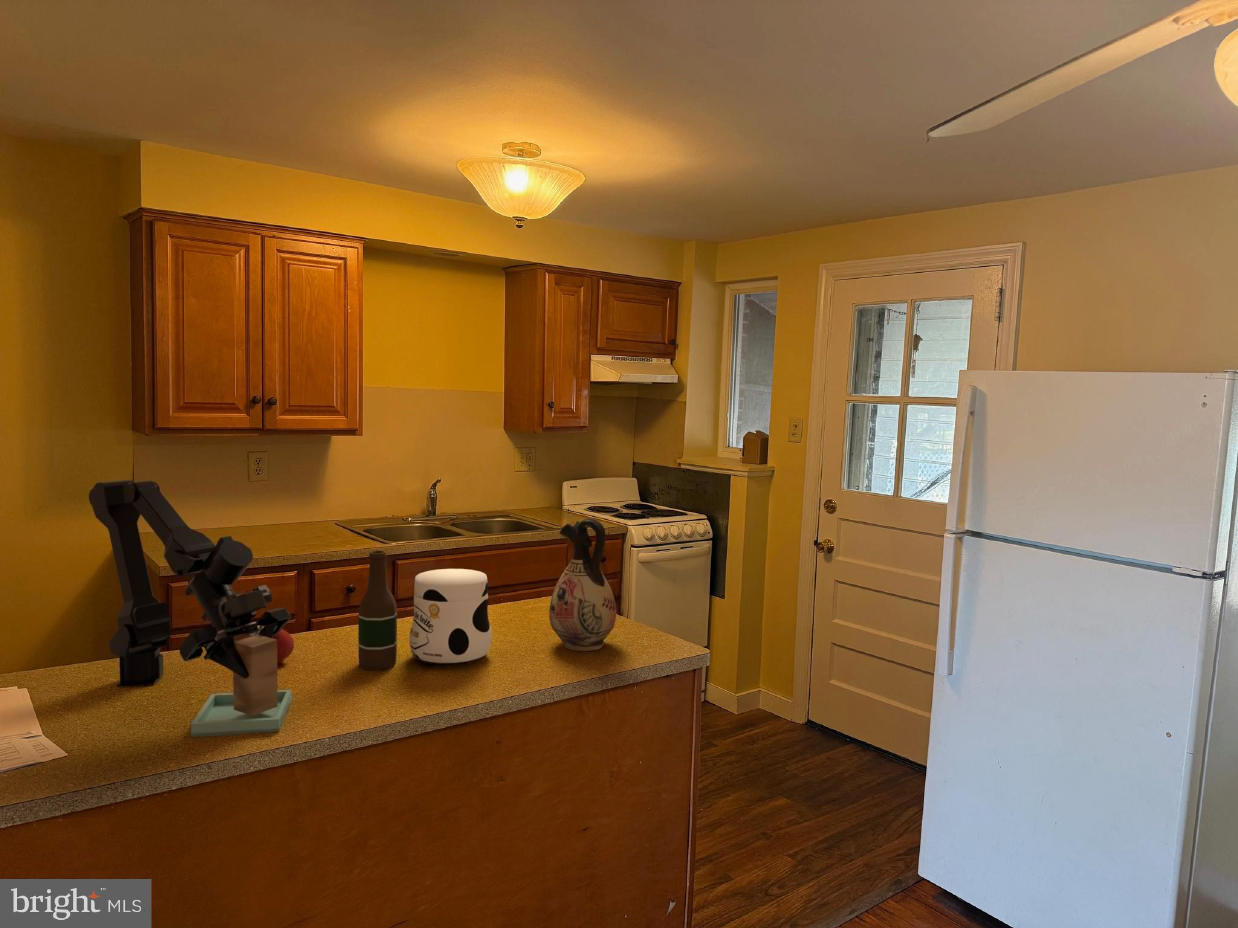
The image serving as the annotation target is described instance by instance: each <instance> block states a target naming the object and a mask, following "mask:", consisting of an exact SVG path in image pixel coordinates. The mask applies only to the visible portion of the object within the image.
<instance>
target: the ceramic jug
mask: <svg viewBox="0 0 1238 928" xmlns="http://www.w3.org/2000/svg"><path fill="white" fill-rule="evenodd" d="M589 528H590V529H592V530H593V531H594V533H595V543H594V548H593V553H592V555H591V551H590V548H592V546H593V540H592V539H591V536H590V535H589V532H588V529H589ZM558 533H559V535H560V536H562V537H563V538H565V539H568V541H570V542H572V543H573V545H574V554H573V557H571V560H570V561H569V563H568V564H567V566H566V567H565V569H564V571H563V573H562V574H561V576H560V577H559V579H558V581H557V583H556V585H555V587H554V588H553V592H552V595H551V598H550V603H549V604H550V605H549V610H548V613H549V614H548V619H549V623H550V627H551V628H552V630H553V631H554V633H555V634H556V635H557V637H558V638H559V639H560V641H561V642H562V644H563V647H564V648H565V649H568V650H571V651H579V652H587V651H588V652H589V651H598V650H600V649H601V648H603V646H604V645H605V642H604V641H605V640H606V638H607V637H608V636H609V634H611V632H612V631H613V629H614V627H615V625H616V621H617V619H616V618H617V604H616V599H615V597H614V594H613V590H612V588H611V586H610V583H609V582H608V580H607V579H606V577H605V575H604V573H603V572H602V570H601V568H600V566H601V561H602V557H603V552H604V548H605V545H606V530H605V527H604V526H603V524H602V523H601V522H600V521H598V519H596V518H585V519H583V520H581V521H578V520H577V521H576V522H575V524H574V525H571V523H567V524H565V525H563V526H562V528H561V529H560V531H559V532H558Z"/></svg>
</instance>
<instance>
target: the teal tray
mask: <svg viewBox="0 0 1238 928" xmlns="http://www.w3.org/2000/svg"><path fill="white" fill-rule="evenodd" d="M277 698H278V707H275V708H272V709H270V710H267V711H265V712H262V713H259V714H257V715H254V716H251V715H248V714H245V713H242V712H239V711H236V710H234V701H233V692H227V693H226V692H222V693H211V694H210V696H209V697H208V698H207V700H206V702H204V704H203V706H202V707H201V709H200V710H199V711H198V713H197V715H195V718H194V719H193V721H192V722H191V724H190V737H191V738H198V737H199V738H200V737H203V738H204V737H217V736H219V737H220V736H231V735H249V734H264V733H279V732H280V731H281V728H282V726H283V724H284V722H285V719H286V717H287V714H288V712H289V710H290V706H291V705H292V702H293V689H282V690H281V689H280V690H279V689H278V690H277Z"/></svg>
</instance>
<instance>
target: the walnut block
mask: <svg viewBox="0 0 1238 928" xmlns="http://www.w3.org/2000/svg"><path fill="white" fill-rule="evenodd" d="M234 646H235V649H236V650H237V652H238V654H239V655H240V657H241V659H242V661H243V662H244V664H245V666H246V669H247V671H248V673H249V676H248V677H247V678H246V679H244V678H243V677H241V676H239V675H238V674H236V673H234V672H233V671H232V677H233V678H232V685H233V686H232V688H233V689H232V690H233V691H232V693H233V701H234V710H236V711H239V712H242V713H245V714H248V715H251V716H254V715H257V714H259V713H262V712H265V711H267V710H270V709H272V708H275V707H278V698H277V691H278V663H277V640H276V639H272V638H268V637H265V636H261V635H255V636H252V637H251V636H249V637H245V638H242V639H238V640H234Z"/></svg>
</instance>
